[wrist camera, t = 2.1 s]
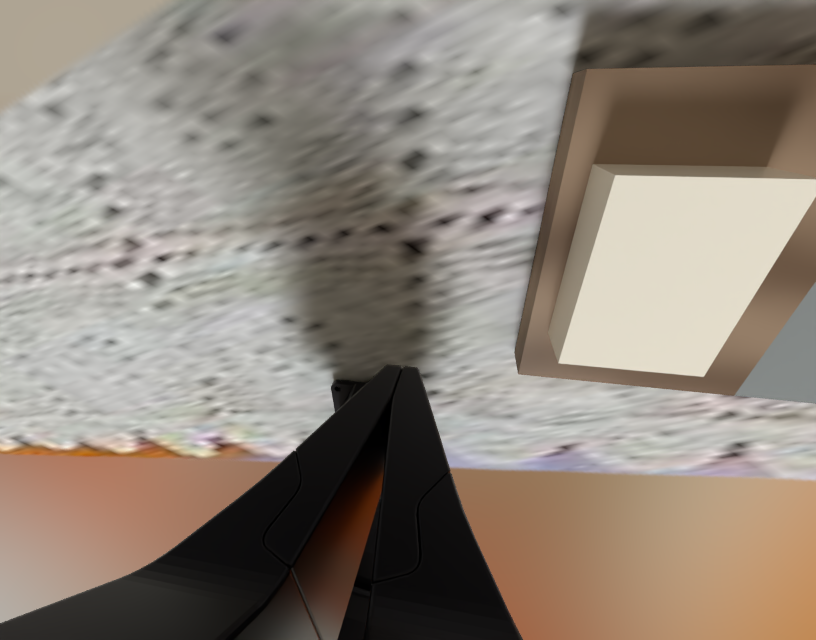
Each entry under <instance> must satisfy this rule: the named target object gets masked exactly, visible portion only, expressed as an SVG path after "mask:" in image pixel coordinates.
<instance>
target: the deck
mask: <svg viewBox="0 0 816 640" xmlns="http://www.w3.org/2000/svg"><path fill="white" fill-rule="evenodd" d="M593 164H625V165H686V166H746V167H770V168H775V169H779V170H784V171H789V172H793V173H798V174H803V175H807V176H812V177H816V64H811V65H760V66H710V67H659V68H609V69H585V70H582V71H579V72H575V73H573V75H572V80H571V85H570V89H569V94H568V99H567V104H566V108H565V113H564V118H563V123H562V128H561V132H560V137H559V142H558V147H557V152H556V156H555V161H554V166H553V171H552V176H551V180H550V185H549V190H548V195H547V200H546V204H545V209H544V214H543V219H542V224H541V228H540V233H539V238H538V243H537V248H536V252H535V257H534V262H533V267H532V271H531V276H530V281H529V286H528V291H527V295H526V300H525V305H524V310H523V315H522V319H521V324H520V329H519V334H518V339H517V343H516V348H515V358H516V364H517V370H518V374H521V375H531V376H541V377H551V378H562V379H572V380H582V381H592V382H602V383H612V384H622V385H632V386H642V387H652V388H662V389H672V390H682V391H692V392H702V393H712V394H722V395H732V396H734V395H735V394H736V392H737V391H738V390H739V388H740V387H741V385H742V384H743V383H744V381H745V380H746V378H747V377H748V376H749V374H750V373H751V371H752V370H753V369H754V367H755V366H756V364H757V363H758V362H759V360H760V359H761V357H762V356H763V355H764V353H765V352H766V350H767V349H768V348H769V346H770V345H771V343H772V342H773V341H774V339H775V338H776V336H777V335H778V334H779V332H780V331H781V329H782V328H783V327H784V325H785V324H786V322H787V321H788V320H789V318H790V317H791V315H792V314H793V313H794V311H795V310H796V308H797V307H798V306H799V304H800V303H801V301H802V300H803V299H804V297H805V296H806V295H807V293H808V292H809V290H810V289H811V288H812V286H813V285H814V283H815V282H816V197H815V199H814V200H813V202H812V204H811V205H810V207H809V208H808V210H807V212H806V213H805V215H804V216H803V218H802V220H801V221H800V223H799V224H798V226H797V228H796V229H795V231H794V233H793V234H792V236H791V237H790V239H789V241H788V242H787V244H786V245H785V247H784V249H783V250H782V252H781V253H780V255H779V257H778V258H777V260H776V261H775V263H774V265H773V266H772V268H771V269H770V271H769V273H768V274H767V276H766V278H765V279H764V281H763V282H762V284H761V286H760V287H759V289H758V290H757V292H756V294H755V295H754V297H753V298H752V300H751V302H750V303H749V305H748V306H747V308H746V310H745V311H744V313H743V314H742V316H741V318H740V319H739V321H738V323H737V324H736V326H735V327H734V329H733V331H732V332H731V334H730V335H729V337H728V339H727V340H726V342H725V343H724V345H723V347H722V348H721V350H720V351H719V353H718V355H717V356H716V358H715V360H714V361H713V363H712V364H711V366H710V368H709V369H708V371H707V372H706V374H705V376H704V377H699V376H688V375H677V374H667V373H656V372H645V371H635V370H624V369H614V368H603V367H592V366H582V365H571V364H560V363H558V361H557V358H556V355H555V352H554V349H553V346H552V343H551V340H550V337H549V334H548V331H549V327H550V323H551V319H552V315H553V312H554V308H555V304H556V300H557V297H558V293H559V289H560V285H561V282H562V278H563V274H564V270H565V267H566V263H567V259H568V255H569V251H570V248H571V244H572V240H573V236H574V233H575V229H576V225H577V221H578V218H579V214H580V210H581V206H582V202H583V199H584V195H585V191H586V187H587V184H588V180H589V176H590V172H591V169H592V165H593Z"/></svg>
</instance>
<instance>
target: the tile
mask: <svg viewBox="0 0 816 640" xmlns="http://www.w3.org/2000/svg"><path fill="white" fill-rule="evenodd" d="M815 197H816V177H812V176H807V175H803V174H798V173H793V172H789V171H784V170H779V169H775V168H770V167H746V166H686V165H625V164H593V165H592V169H591V172H590V176H589V180H588V184H587V187H586V191H585V195H584V199H583V202H582V206H581V210H580V214H579V218H578V221H577V225H576V229H575V233H574V236H573V240H572V244H571V248H570V251H569V255H568V259H567V263H566V267H565V270H564V274H563V278H562V282H561V285H560V289H559V293H558V297H557V300H556V304H555V308H554V312H553V315H552V319H551V323H550V327H549V331H548V334H549V337H550V340H551V343H552V346H553V349H554V352H555V355H556V358H557V361H558V363H560V364H571V365H582V366H592V367H603V368H614V369H624V370H635V371H645V372H656V373H667V374H677V375H688V376H699V377H704V376H705V374H706V372H707V371H708V369H709V368H710V366H711V364H712V363H713V361H714V360H715V358H716V356H717V355H718V353H719V351H720V350H721V348H722V347H723V345H724V343H725V342H726V340H727V339H728V337H729V335H730V334H731V332H732V331H733V329H734V327H735V326H736V324H737V323H738V321H739V319H740V318H741V316H742V314H743V313H744V311H745V310H746V308H747V306H748V305H749V303H750V302H751V300H752V298H753V297H754V295H755V294H756V292H757V290H758V289H759V287H760V286H761V284H762V282H763V281H764V279H765V278H766V276H767V274H768V273H769V271H770V269H771V268H772V266H773V265H774V263H775V261H776V260H777V258H778V257H779V255H780V253H781V252H782V250H783V249H784V247H785V245H786V244H787V242H788V241H789V239H790V237H791V236H792V234H793V233H794V231H795V229H796V228H797V226H798V224H799V223H800V221H801V220H802V218H803V216H804V215H805V213H806V212H807V210H808V208H809V207H810V205H811V204H812V202H813V200H814V199H815Z"/></svg>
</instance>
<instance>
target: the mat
mask: <svg viewBox="0 0 816 640" xmlns="http://www.w3.org/2000/svg"><path fill="white" fill-rule="evenodd" d="M735 396H745V397H755V398H765V399H775V400H785V401H795V402H805V403H815V404H816V282H815V283H814V285H813V286H812V288H811V289H810V290H809V292H808V293H807V295H806V296H805V297H804V299H803V300H802V301H801V303H800V304H799V306H798V307H797V308H796V310H795V311H794V313H793V314H792V315H791V317H790V318H789V320H788V321H787V322H786V324H785V325H784V327H783V328H782V329H781V331H780V332H779V334H778V335H777V336H776V338H775V339H774V341H773V342H772V343H771V345H770V346H769V348H768V349H767V350H766V352H765V353H764V355H763V356H762V357H761V359H760V360H759V362H758V363H757V364H756V366H755V367H754V369H753V370H752V371H751V373H750V374H749V376H748V377H747V378H746V380H745V381H744V383H743V384H742V385H741V387H740V388H739V390H738V391H737V392H736V394H735Z"/></svg>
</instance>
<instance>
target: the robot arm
mask: <svg viewBox="0 0 816 640" xmlns="http://www.w3.org/2000/svg"><path fill="white" fill-rule="evenodd" d="M337 386H338V387H337ZM339 387H340V388H339ZM331 391H332V397H333V402H334V408H335V413H334V414H333V415H332V416H331V417H330V418H329V419H328V420H326V421H325V422H324V423H323V424H322V425H321V426H320V427H319V428H318V429H317V430H316V431H315V432H313V433H312V434H311V435H310V436H309V437H308V438H307V439H306V440H305V441H304V442H303V443H302V444H300V445H299V446H298V447H297V448H296V451H293V452H292V453H291V454H289V455H288V456H287V457H286V458H285V459H284V460H283V461H282V462H281V463H280V464H278V465H277V466H276V467H275V468H274V469H273V470H272V471H271V472H269V473H268V474H267V475H266V476H265V477H264V478H263V479H261V480H260V481H259V482H258V483H256V484H255V485H254V486H253V487H252V488H250V489H249V490H248V491H246V492H245V493H244V494H243V495H241V496H240V497H239V498H238V499H236V500H235V501H234V502H233V503H231V504H230V505H229V506H227V507H226V508H225V509H223V510H222V511H221V512H220V513H218V514H217V515H216V516H214V517H213V518H212V519H211V520H209V521H208V522H207V523H205V524H204V525H203V526H201V527H200V528H199V529H197V530H196V531H195V532H194V533H192V534H191V535H190V536H188V537H187V538H186V539H184V540H183V541H182V542H181V543H179V544H178V545H177V546H175V547H174V548H172V549H171V550H170V551H168V552H167V553H166V554H164V555H163V556H161V557H159V558H158V559H156V560H155V561H153V562H152V563H150V564H148V565H146V566H144V567H143V568H141V569H139V570H137V571H135V572H133V573H131V574H129V575H126V576H124V577H122V578H119V579H116V580H114V581H111V582H108V583H106V584H103V585H101V586H98V587H95V588H92V589H90V590H87V591H85V592H82V593H79V594H76V595H74V596H71V597H69V598H66V599H63V600H61V601H58V602H55V603H53V604H50V605H48V606H45V607H42V608H39V609H37V610H34V611H32V612H29V613H26V614H24V615H21V616H18V617H16V618H13V619H10V620H8V621H5V622H2V623H0V640H523V639H522V637H521V635H520V633H519V631H518V629H517V627H516V625H515V623H514V621H513V619H512V617H511V615H510V613H509V611H508V609H507V607H506V605H505V602H504V600H503V598H502V596H501V593H500V591H499V589H498V587H497V585H496V583H495V580H494V578H493V576H492V574H491V572H490V569H489V567H488V565H487V563H486V561H485V558H484V556H483V554H482V552H481V550H480V547H479V546H478V543H477V541H476V539H475V537H474V534H473V532H472V529H471V527H470V524H469V522H468V520H467V517H466V515H465V513H464V510H463V507H462V504H461V501H460V498H459V495H458V492H457V490H456V486H455V483H454V480H453V477H452V474H451V473H450V468H449V464H448V461H447V458H446V455H445V452H444V448H443V445H442V442H441V439H440V435H439V432H438V429H437V426H436V422H435V419H434V416H433V413H432V410H431V406H430V403H429V400H428V397H427V393H426V390H425V387H424V384H423V380H422V377H421V374H420V371H419V369H418V368H417V367H408V366H405V367H403V368H402V367H401V366H398V365H386V366H385V367H384V368H383V369H382V370H381V371H380V372H379V373H377V374H376V375H375V376H374V377H373V378H372V379H371V380H370V381H369V382H368V383H361V382H352V381H343V380H336V381H334V382H333V384H332V386H331Z"/></svg>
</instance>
